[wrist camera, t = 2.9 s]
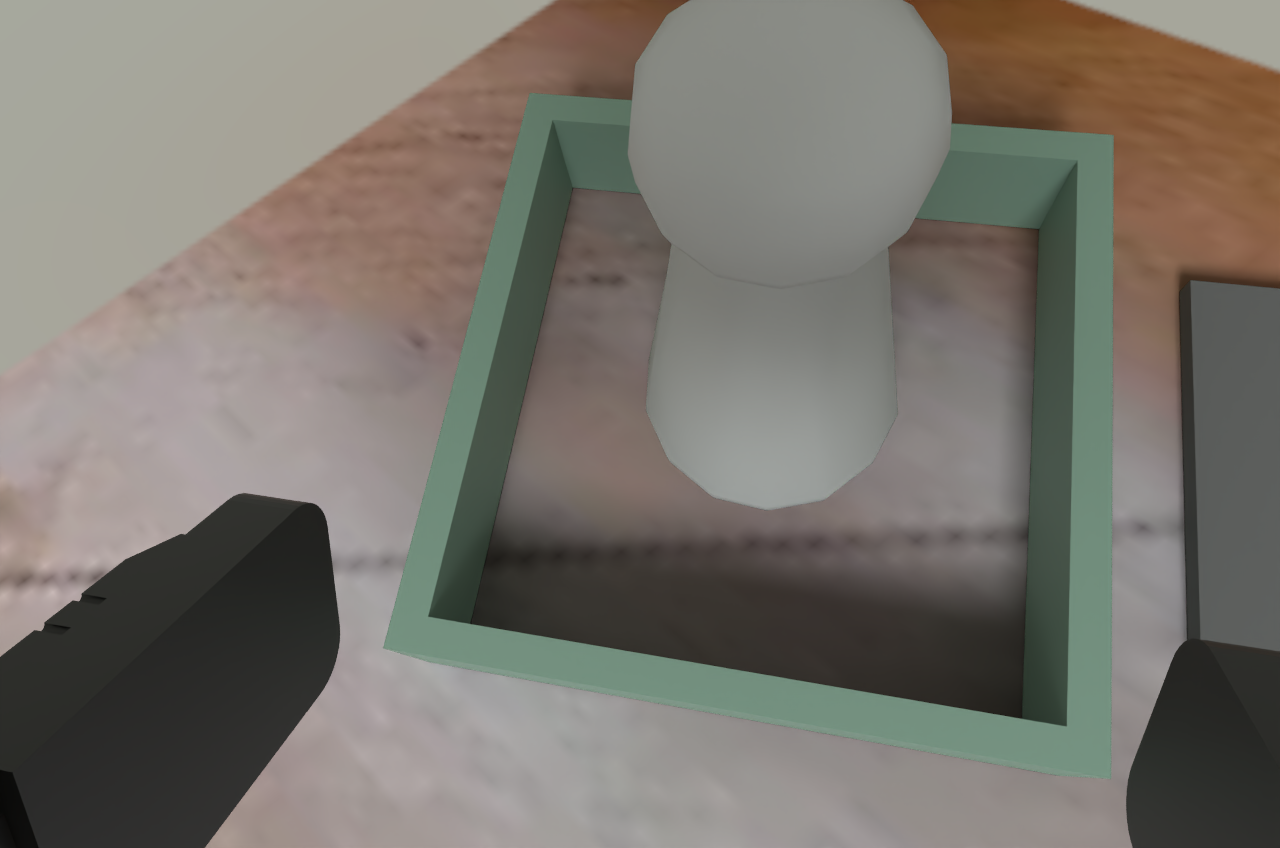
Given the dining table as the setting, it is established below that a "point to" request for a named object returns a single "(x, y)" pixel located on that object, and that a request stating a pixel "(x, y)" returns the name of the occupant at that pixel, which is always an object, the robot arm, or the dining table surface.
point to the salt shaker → (782, 231)
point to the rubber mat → (1231, 461)
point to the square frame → (1041, 741)
